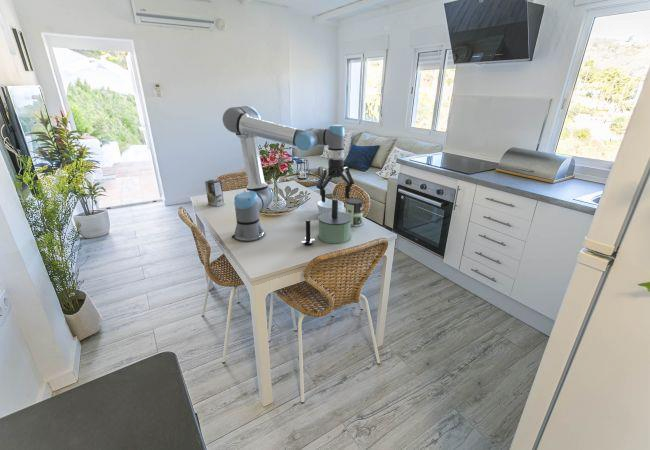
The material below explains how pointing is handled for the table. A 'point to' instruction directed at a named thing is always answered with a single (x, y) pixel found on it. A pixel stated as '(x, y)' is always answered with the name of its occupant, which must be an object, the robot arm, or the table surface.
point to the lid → (334, 216)
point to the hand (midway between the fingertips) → (335, 199)
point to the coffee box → (214, 192)
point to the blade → (307, 234)
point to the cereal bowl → (329, 206)
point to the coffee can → (355, 210)
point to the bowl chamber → (334, 232)
